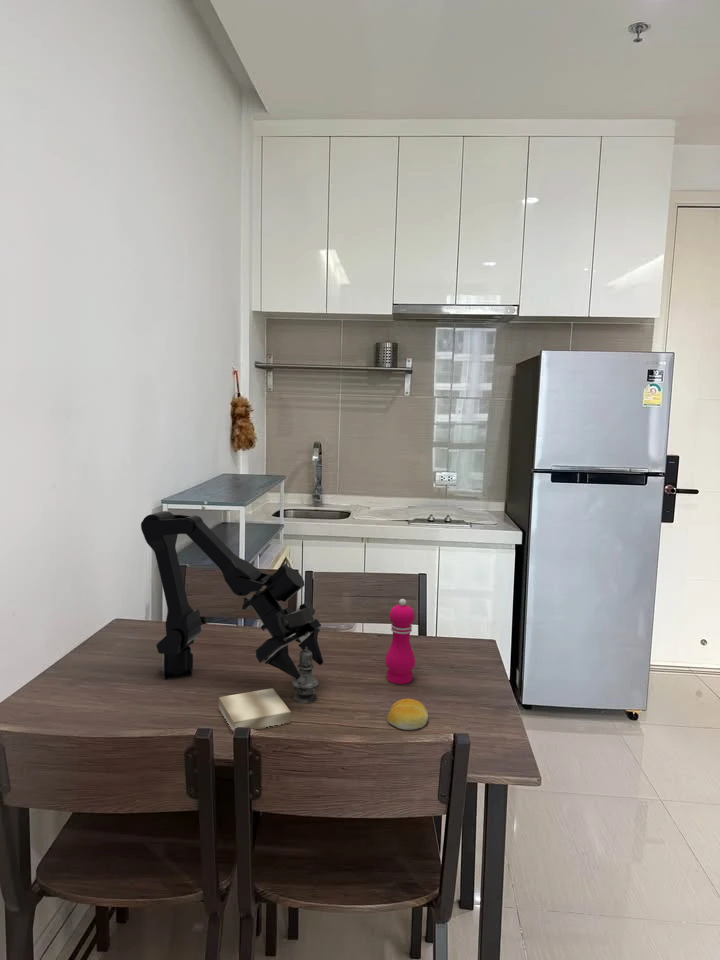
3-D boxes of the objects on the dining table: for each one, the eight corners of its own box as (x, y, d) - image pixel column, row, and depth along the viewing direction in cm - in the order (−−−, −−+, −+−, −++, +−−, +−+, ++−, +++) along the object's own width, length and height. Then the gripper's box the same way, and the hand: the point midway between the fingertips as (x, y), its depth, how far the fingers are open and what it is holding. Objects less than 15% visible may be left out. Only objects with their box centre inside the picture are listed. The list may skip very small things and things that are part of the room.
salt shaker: (313, 704, 141) (315, 652, 140) (288, 701, 143) (289, 649, 141) (320, 693, 147) (322, 643, 146) (296, 690, 148) (297, 640, 147)
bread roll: (384, 728, 132) (385, 710, 132) (393, 709, 141) (393, 692, 141) (424, 734, 130) (425, 715, 130) (430, 714, 139) (431, 697, 139)
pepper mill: (378, 678, 157) (381, 598, 154) (397, 670, 162) (400, 592, 160) (401, 687, 152) (404, 605, 150) (420, 679, 157) (423, 599, 155)
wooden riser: (233, 734, 128) (233, 722, 127) (218, 708, 138) (218, 697, 138) (290, 723, 133) (290, 711, 133) (272, 699, 144) (272, 688, 143)
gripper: (267, 603, 136) (309, 665, 132) (315, 584, 152) (354, 639, 148) (237, 632, 141) (277, 693, 137) (287, 611, 157) (324, 664, 153)
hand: (310, 670), depth 144 cm, fingers open, 9 cm apart
